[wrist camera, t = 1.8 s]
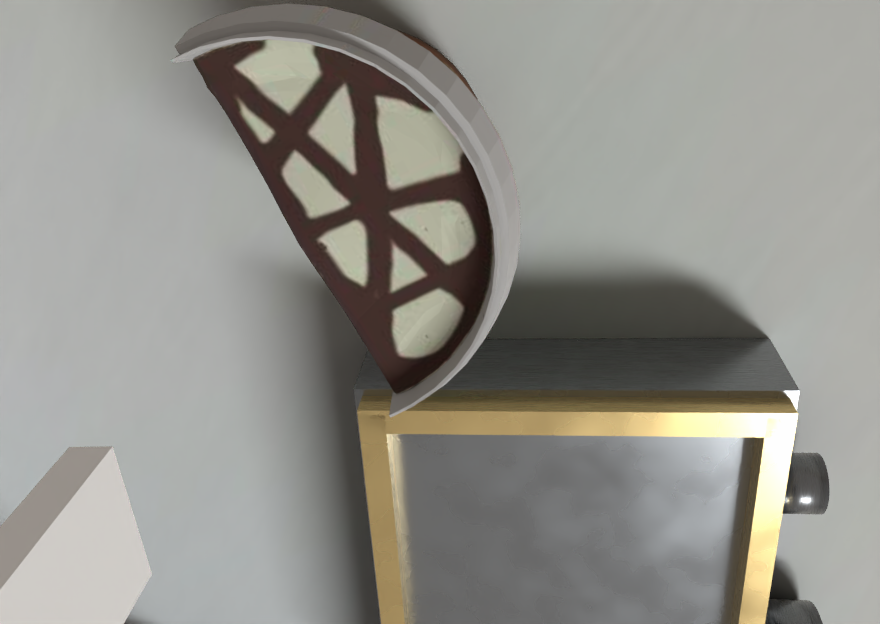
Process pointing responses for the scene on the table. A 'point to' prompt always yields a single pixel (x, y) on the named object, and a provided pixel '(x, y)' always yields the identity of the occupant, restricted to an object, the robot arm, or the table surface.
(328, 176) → the food container
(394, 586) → the grey flat box
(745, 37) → the table surface
